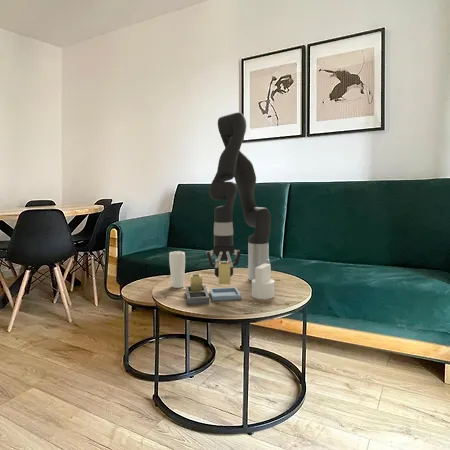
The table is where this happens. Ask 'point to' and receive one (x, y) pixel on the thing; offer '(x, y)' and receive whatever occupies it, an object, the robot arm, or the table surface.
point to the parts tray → (225, 294)
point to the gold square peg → (223, 272)
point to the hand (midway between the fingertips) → (223, 276)
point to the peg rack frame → (197, 296)
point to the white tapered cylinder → (177, 268)
